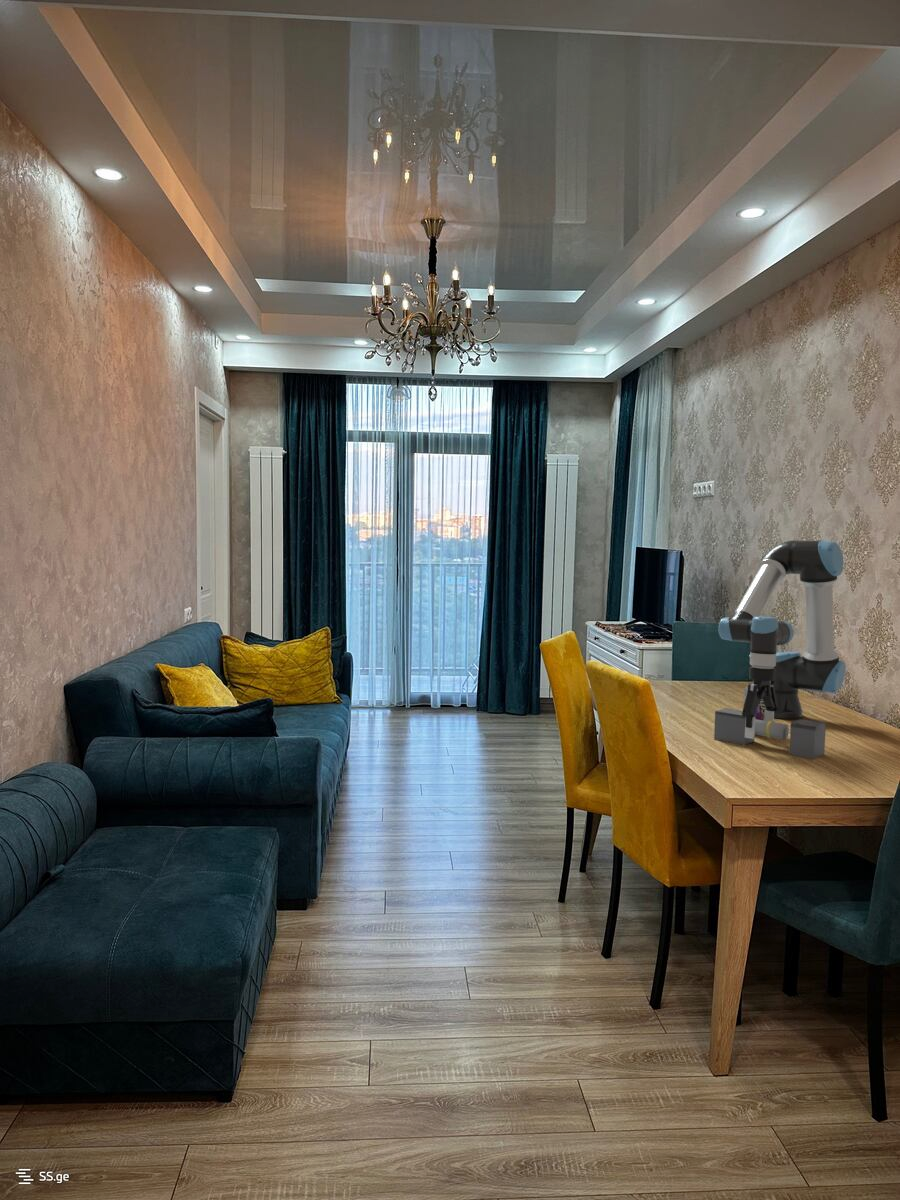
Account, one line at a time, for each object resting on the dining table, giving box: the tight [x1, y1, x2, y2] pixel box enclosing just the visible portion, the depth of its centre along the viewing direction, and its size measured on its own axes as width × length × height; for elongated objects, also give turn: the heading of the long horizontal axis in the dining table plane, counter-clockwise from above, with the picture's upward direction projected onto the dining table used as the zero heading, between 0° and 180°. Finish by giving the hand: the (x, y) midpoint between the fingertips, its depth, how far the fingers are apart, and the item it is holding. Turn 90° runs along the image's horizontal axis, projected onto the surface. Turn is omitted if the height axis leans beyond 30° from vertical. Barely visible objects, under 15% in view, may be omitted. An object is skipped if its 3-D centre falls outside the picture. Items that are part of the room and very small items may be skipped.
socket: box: [788, 718, 827, 760], centre depth 235 cm, size 7×8×10 cm
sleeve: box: [713, 707, 756, 746], centre depth 251 cm, size 10×7×9 cm
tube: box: [755, 719, 790, 741], centre depth 247 cm, size 20×5×5 cm, turn 45°
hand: (759, 734), depth 245 cm, fingers open, 13 cm apart
